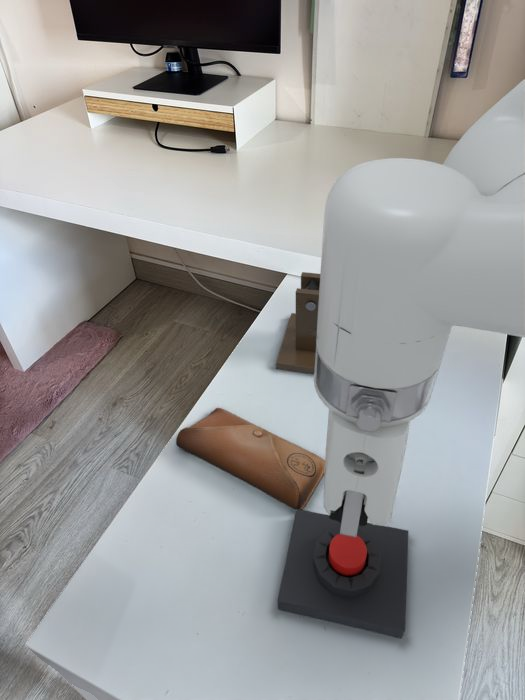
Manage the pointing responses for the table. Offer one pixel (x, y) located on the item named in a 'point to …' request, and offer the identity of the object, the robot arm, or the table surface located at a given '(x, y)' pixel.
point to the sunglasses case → (254, 456)
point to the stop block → (346, 591)
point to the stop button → (347, 554)
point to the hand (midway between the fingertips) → (348, 514)
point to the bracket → (301, 330)
